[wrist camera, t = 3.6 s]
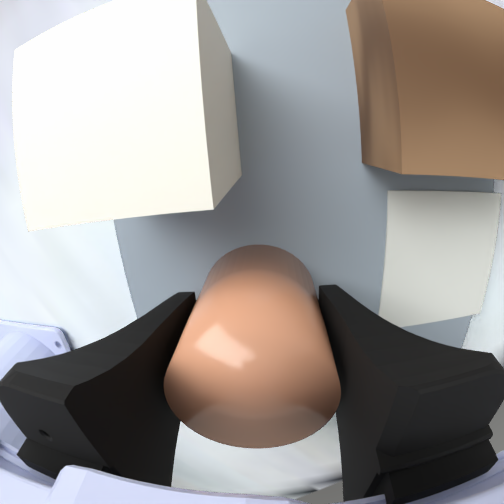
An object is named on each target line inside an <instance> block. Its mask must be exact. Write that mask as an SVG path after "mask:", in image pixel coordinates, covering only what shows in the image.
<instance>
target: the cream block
mask: <svg viewBox="0 0 504 504" xmlns="http://www.w3.org/2000/svg"><path fill="white" fill-rule="evenodd" d="M12 108H13V133H14V146H15V156H16V165H17V173H18V180H19V187H20V193H21V199H22V204H23V209H24V214H25V219H26V224H27V228H28V232H29V231H35V230H42V229H48V228H55V227H62V226H69V225H76V224H83V223H91V222H99V221H107V220H115V219H123V218H132V217H141V216H150V215H160V214H169V213H180V212H191V211H202V210H214V208H215V207H216V206H217V205H218V204H219V202H220V201H221V200H222V199H223V197H224V196H225V195H226V194H227V193H228V191H229V190H230V189H231V188H232V186H233V185H234V184H235V183H236V182H237V180H238V179H239V178H240V177H241V176H242V171H241V160H240V149H239V137H238V126H237V115H236V103H235V92H234V80H233V68H232V57H231V51H230V49H229V47H228V45H227V42H226V40H225V38H224V36H223V34H222V32H221V29H220V27H219V25H218V23H217V21H216V19H215V17H214V15H213V13H212V10H211V8H210V6H209V4H208V2H207V0H114V1H111V2H109V3H106V4H103V5H101V6H98V7H96V8H94V9H91V10H89V11H87V12H84V13H82V14H80V15H78V16H75V17H73V18H71V19H69V20H67V21H65V22H63V23H61V24H59V25H57V26H55V27H53V28H51V29H49V30H48V31H46V32H44V33H42V34H40V35H39V36H37V37H35V38H33V39H32V40H30V41H28V42H27V43H25V44H24V45H22V46H20V47H19V48H17V49H16V50H15V52H14V64H13V88H12Z"/></svg>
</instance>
